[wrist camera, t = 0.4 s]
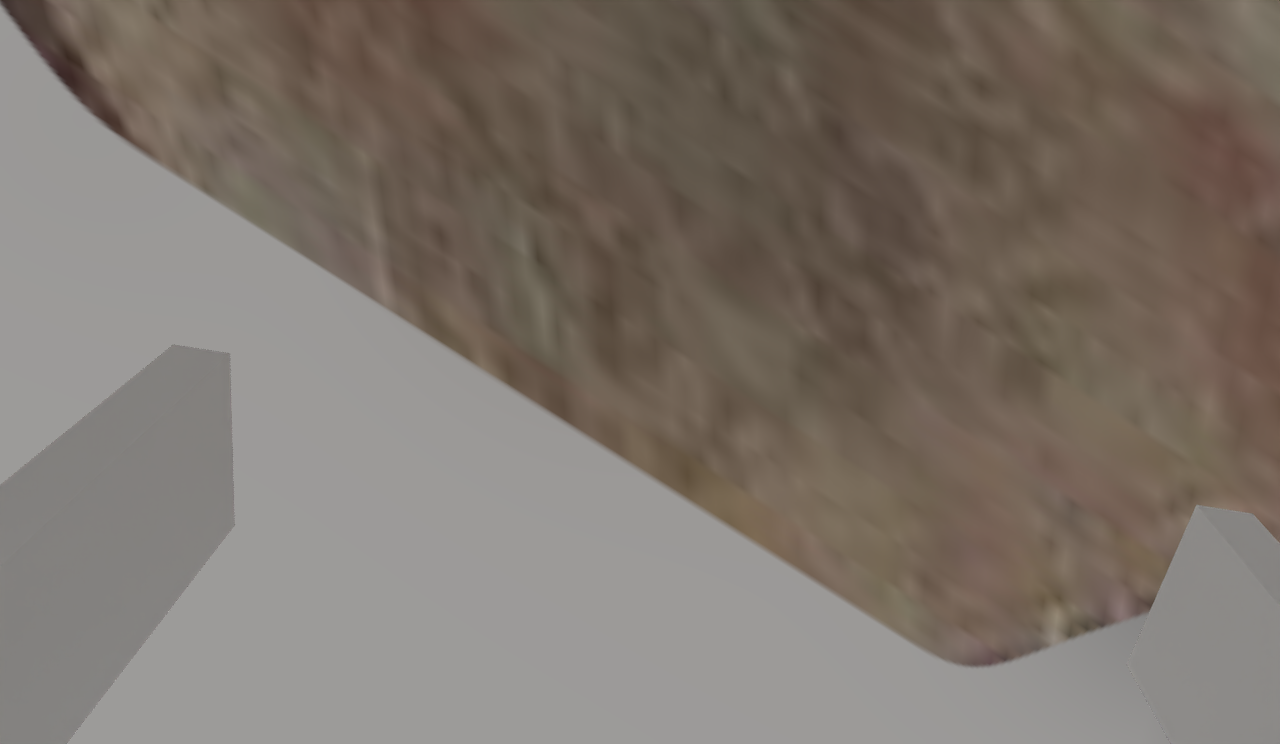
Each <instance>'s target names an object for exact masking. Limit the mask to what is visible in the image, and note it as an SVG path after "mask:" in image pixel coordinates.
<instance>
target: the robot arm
mask: <svg viewBox="0 0 1280 744" xmlns="http://www.w3.org/2000/svg"><path fill="white" fill-rule="evenodd" d="M230 376H231V375H230V354H229V353H224V352H218V351H212V350H205V349H199V348H192V347H185V346H179V345H172V346H171V347H170V348H168V349H167V350H166V351H165V352H163V353H162V354H161V355H160V356H158V357H157V358H156V359H155V360H154V361H152V362H151V363H150V364H149V365H147V366H146V367H145V368H144V369H143V370H141V371H140V372H139V373H138V374H136V375H135V376H134V377H133V378H132V379H130V380H129V381H128V382H127V383H125V384H124V385H123V386H122V387H120V388H119V389H118V390H117V391H115V392H114V393H113V394H112V395H110V396H109V397H108V398H107V399H105V400H104V401H103V402H102V403H101V404H99V405H98V406H97V407H96V408H94V409H93V410H92V411H91V412H89V413H88V414H87V415H86V416H84V417H83V418H82V419H81V420H80V421H78V422H77V423H76V424H75V425H74V426H72V427H71V428H70V429H68V430H67V431H66V432H65V433H64V434H62V435H61V436H60V437H59V438H57V439H56V440H55V441H54V442H52V443H51V444H50V445H49V446H47V447H46V448H45V449H44V450H43V451H41V452H40V453H39V454H38V455H36V456H35V457H34V458H33V459H31V460H30V461H29V462H28V463H27V464H25V465H24V466H23V467H22V468H20V469H19V470H18V471H17V472H15V473H14V474H13V475H12V476H11V477H9V478H8V479H7V480H6V481H4V482H3V483H2V484H1V485H0V744H67V743H68V741H69V740H70V739H71V737H72V736H73V735H74V733H75V732H76V731H77V730H78V728H79V727H80V726H81V724H82V723H83V722H84V720H85V719H86V718H87V716H88V715H89V714H90V712H91V711H92V710H93V709H94V707H95V706H96V705H97V703H98V702H99V701H100V700H101V698H102V697H103V696H104V694H105V693H106V692H107V691H108V689H109V688H110V687H111V685H112V684H113V683H114V681H115V680H116V679H117V678H118V676H119V675H120V674H121V672H122V671H123V670H124V669H125V667H126V666H127V665H128V663H129V662H130V661H131V659H132V658H133V657H134V655H135V654H136V653H137V651H138V650H139V649H140V648H141V646H142V645H143V644H144V643H145V641H146V640H147V639H148V637H149V636H150V635H151V633H152V632H153V631H154V630H155V628H156V627H157V626H158V624H159V623H160V622H161V620H162V619H163V618H164V617H165V615H166V614H167V613H168V611H169V610H170V609H171V607H172V606H173V605H174V603H175V602H176V601H177V600H178V598H179V597H180V596H181V594H182V593H183V592H184V590H185V589H186V588H187V587H188V585H189V584H190V583H191V581H192V580H193V579H194V578H195V576H196V575H197V574H198V572H199V571H200V570H201V568H202V567H203V566H204V565H205V563H206V562H207V561H208V559H209V558H210V557H211V555H212V554H213V553H214V552H215V550H216V549H217V548H218V546H219V545H220V544H221V542H222V541H223V540H224V539H225V537H226V536H227V535H228V533H229V532H230V531H231V530H232V528H233V527H234V525H235V522H234V487H233V486H234V484H233V449H232V448H233V447H232V411H231V377H230ZM1127 666H1128V668H1129V670H1130V672H1131V674H1132V675H1133V677H1134V679H1135V681H1136V683H1137V684H1138V686H1139V688H1140V690H1141V692H1142V693H1143V695H1144V697H1145V699H1146V701H1147V702H1148V704H1149V706H1150V708H1151V710H1152V712H1153V713H1154V715H1155V717H1156V719H1157V721H1158V722H1159V724H1160V726H1161V728H1162V730H1163V731H1164V733H1165V735H1166V737H1167V738H1168V740H1169V742H1170V744H1280V543H1279V542H1278V541H1277V540H1276V539H1275V538H1274V537H1273V536H1272V535H1271V533H1270V532H1269V531H1268V530H1267V529H1266V528H1265V527H1264V526H1263V525H1262V524H1261V522H1260V521H1259V520H1258V519H1257V518H1256V517H1255V516H1254V515H1253V514H1251V513H1245V512H1238V511H1232V510H1226V509H1219V508H1213V507H1206V506H1200V505H1196V507H1195V510H1194V512H1193V514H1192V516H1191V519H1190V521H1189V523H1188V525H1187V528H1186V530H1185V532H1184V535H1183V537H1182V539H1181V541H1180V544H1179V546H1178V548H1177V551H1176V553H1175V555H1174V557H1173V560H1172V562H1171V564H1170V566H1169V569H1168V571H1167V573H1166V576H1165V578H1164V580H1163V582H1162V585H1161V587H1160V589H1159V592H1158V594H1157V596H1156V598H1155V601H1154V603H1153V605H1152V608H1151V610H1150V612H1149V614H1148V617H1147V619H1146V621H1145V623H1144V626H1143V628H1142V630H1141V633H1140V635H1139V637H1138V639H1137V642H1136V645H1135V646H1134V649H1133V651H1132V653H1131V655H1130V658H1129V660H1128V662H1127Z"/></svg>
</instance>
